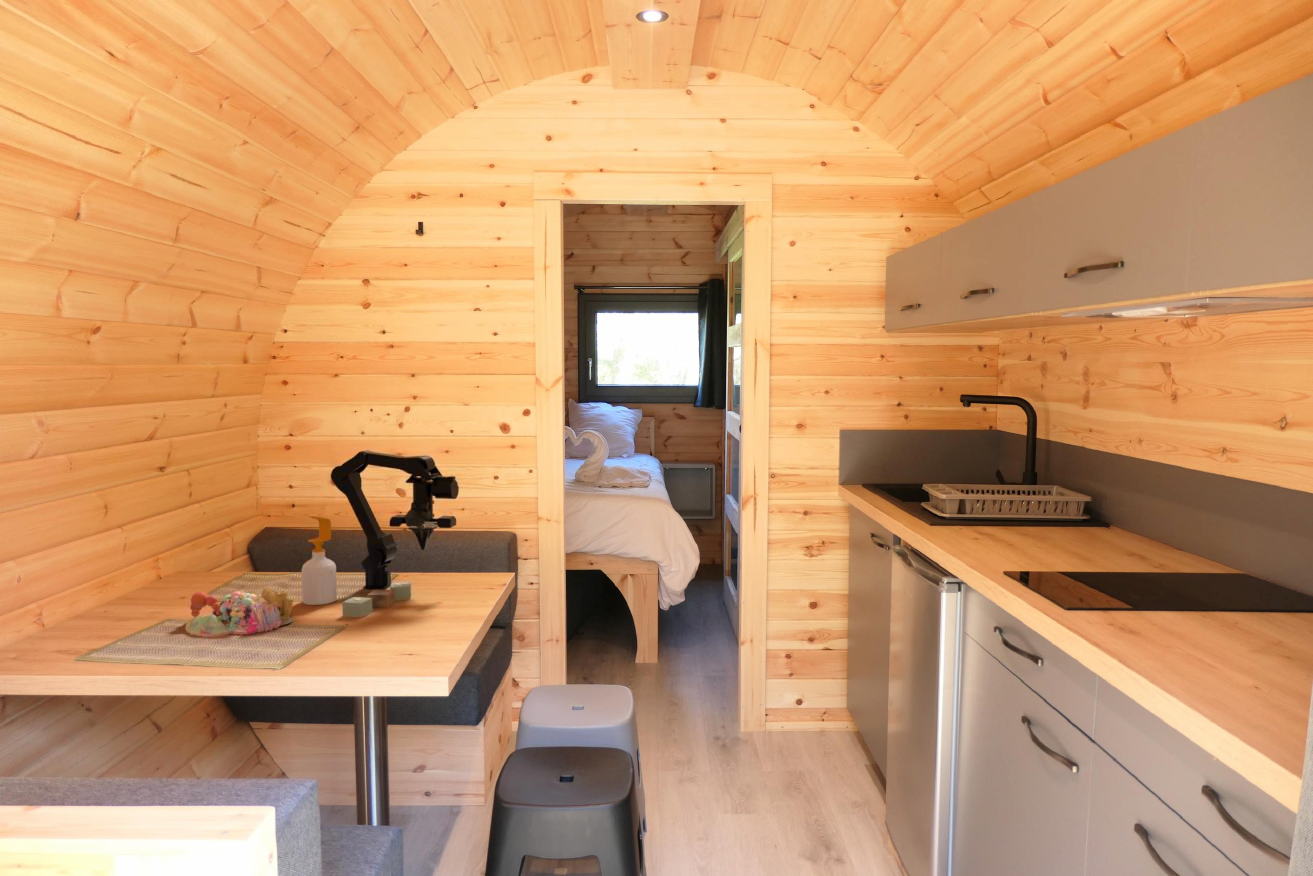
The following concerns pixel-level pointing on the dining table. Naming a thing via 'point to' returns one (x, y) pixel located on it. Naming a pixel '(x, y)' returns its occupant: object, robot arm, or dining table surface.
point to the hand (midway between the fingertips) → (423, 549)
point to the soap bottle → (319, 570)
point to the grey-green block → (357, 607)
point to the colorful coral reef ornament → (239, 613)
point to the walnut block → (382, 598)
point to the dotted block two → (401, 590)
